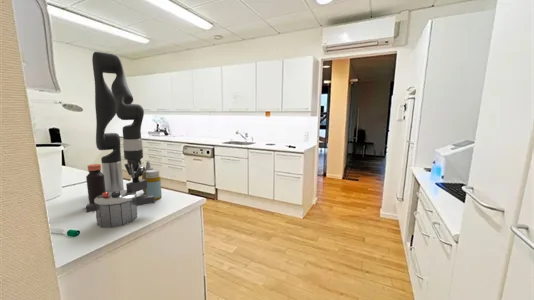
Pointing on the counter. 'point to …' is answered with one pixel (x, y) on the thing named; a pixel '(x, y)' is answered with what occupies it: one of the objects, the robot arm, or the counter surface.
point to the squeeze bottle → (145, 173)
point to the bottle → (153, 183)
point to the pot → (118, 212)
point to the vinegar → (95, 182)
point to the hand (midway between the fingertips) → (135, 184)
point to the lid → (121, 194)
